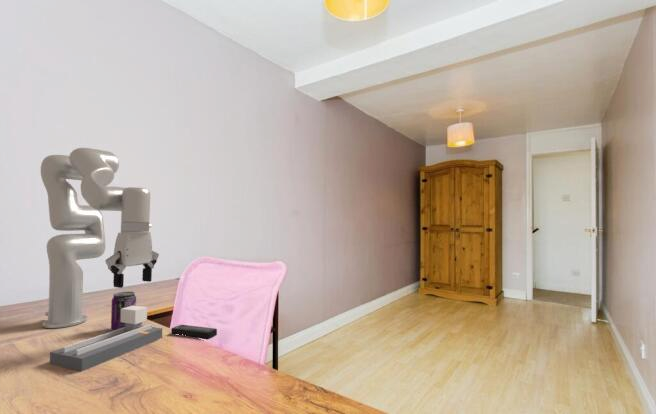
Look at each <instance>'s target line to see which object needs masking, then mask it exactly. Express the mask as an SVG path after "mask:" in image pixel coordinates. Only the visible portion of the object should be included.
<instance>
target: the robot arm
mask: <svg viewBox="0 0 656 414" xmlns="http://www.w3.org/2000/svg"><path fill="white" fill-rule="evenodd" d="M119 166H120V161H119V159H118V157H117V156H116V154H115V153H114V152H112V151H107V150H101V149H97V148H91V147H78V148H75V149H73V150H72V151H71V152H70V153H69V155H65V154H51V155H47V156H46V157H44V158H43V160H42V161H41V165H40V176H41V179H42V183H43V185H44V187H45V188H44V189H45V190H46V193H47V201H48V202H47V203H48V214H49V221H50V226H51V227H52V229H54V230H56V231H59V232H60V231H61V232H64V231H67V232H68V231H69V232H71V231H75V232H78V231H84V233H62V234H57V235H54V236H52V237H51V238H49V239H48V241H47V243H46V254H47V258H48V266H49V271H48V272H49V279H48V280H49V284H48V285H49V287H48V310H47V311H46V312H45V314H44V315H45V316H47V320H45V321H43V322H42V324H41V326H42V328H46V329H58V328H59V329H60V328H61V329H62V328H67V327H72V326H76V325H79V324H82V323H85V322H86V321H87V320H88V316H87V315H85V314H83V297H84V294H83V293H84V292H83V291H84V289H83V288H84V272H83V269H82V267H81V266H80V264H78V263H77V262H76V261H79V260H88V259H97V258H100V257H102V255H104V253H105V251H106V237H105V225H104V216H103V214H102V212H101V211H103V212H105V211H109V212H110V211H111V212H113V211H115V212H120V213H121V215H120V218H121V219H120V232H118V233H117V235H116V238H115V242H114V249H113V254H112V255H111V256H110V257H108V258H106V259H105V261H104V262H105V264H106V266H107V268H108V270H109V271H110V272H111V274H113V281H112V283H113V287H114V288H119V289H122V288H123V287H124V280H125V279H124V277H125V276H124V275H125V274H124V273H123V272H124V270H125V269H126V267H133V266H139V265H140V266H141V265H142V266H143V267H144V268H142V278H141V279H142V281H143V282H148V283H150V282H152V276H153V275H152V274H153V269H154V268H155V264H156V263H157V262H158V261H157V260H158V259H159V256H160V254H159V253H158V252H156V251H154V250H153V240H152V236H151V235H152V234H151V231H150V228H152V224H150V215H151V214H150V213H151V212H150V211H151V209H150V208H151V192H150V190H149V189H148V188H146V187H145V188H144V187H135V186H134V187H133V186H131V187H130V186H129V187H123V186H109V185H110V184H112V182H113V180H114V178H115V173H117V171H118V170H119ZM67 180H72V181H73V180H74V181H81V182H80V192H81V197H82V198H83V199H84V201H85V202H86V203H87V204H88V205H84V204H83V205H81V204H80V203H79V200H78V193H77V190H76V189H75V187H73V186H72V184H71V183H70V182H68V181H67Z"/></svg>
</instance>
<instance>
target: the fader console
mask: <svg viewBox="0 0 656 414" xmlns="http://www.w3.org/2000/svg"><path fill="white" fill-rule="evenodd" d="M160 338H161V339H163V328H161V327H155V326H153V325H152V324H151V323H150V324H146V325H142V327H140V328H137V329H134V330H131V331H129V332H125V327H123V328H120V329H117V330H114V331H113V330H111V331H108V332H107V333H103V334H99V335H97V336H94V337H91V338H90V337H89V338H88V339H84V340H81V341H79V342H75V343H72V344H69V345H67V346H63V347H61V348H58V349H55V350H52V351H50V352H49V365H53V366H57V367H61V368H66V369H70V370H75V371H78V372H79V371H80V372H84V371H85V370H89V369H91V368H94V367H96V366H98V365H100V364H102V363H105V362H107V361H110V360H112V359H114V358H118V357H120V356H123V355H124V354H127V353H129V352H132V351H134V350H138V349H139V348H142V347H144V346H146V345H150V344H152V343H154V342H157V341H159V340H161V339H160ZM158 339H159V340H158ZM156 340H157V341H156Z"/></svg>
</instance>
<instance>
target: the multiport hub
mask: <svg viewBox="0 0 656 414" xmlns="http://www.w3.org/2000/svg"><path fill="white" fill-rule="evenodd" d="M170 332H171V333H172V334H179V335H182V334H183V335H184V336H183V337H186V336H189V337H188V338H194V339H204V340H210V339H212V338H214V337H216V336H217V335H218V329H217V328H216V327H215V328H214V327H213V328H212V327H205V326H196V325H187V324H179V325H176V326H174V327H172V328H171V331H170ZM172 334H171V335H172ZM179 335H178V336H179ZM185 335H186V336H185Z"/></svg>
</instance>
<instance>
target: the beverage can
mask: <svg viewBox="0 0 656 414" xmlns="http://www.w3.org/2000/svg"><path fill="white" fill-rule="evenodd" d="M135 293H136V292H135V291H121V292H116V293H113V297H112V299H111V310H110V311H111V312H110V313H111V316H110V330H111V331H114V330H117V329H120V328H123V327H125V323H123V322H121V309H122V308H125V307H129V306H137V296H136V295H135Z"/></svg>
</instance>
